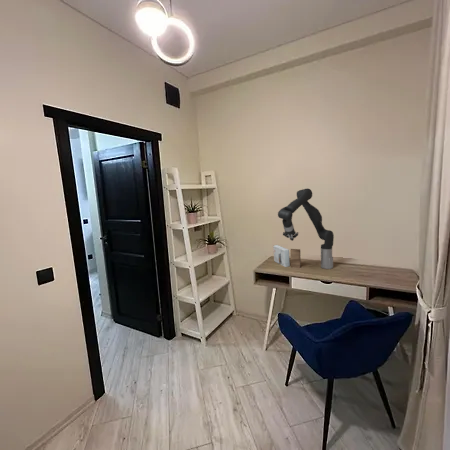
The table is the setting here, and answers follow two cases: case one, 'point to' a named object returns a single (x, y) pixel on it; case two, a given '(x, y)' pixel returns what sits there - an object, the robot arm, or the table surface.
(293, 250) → the walnut block
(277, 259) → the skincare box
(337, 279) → the table surface
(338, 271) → the table surface
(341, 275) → the table surface
